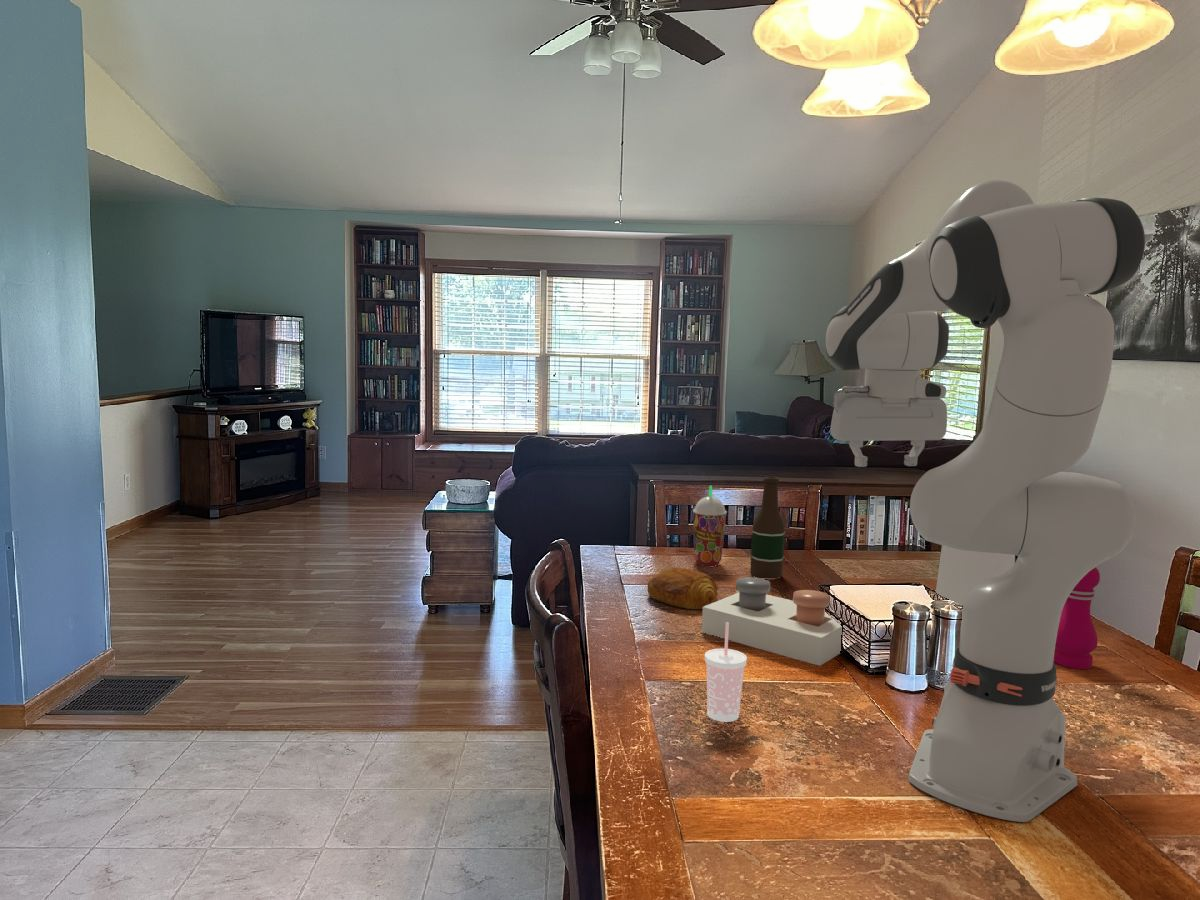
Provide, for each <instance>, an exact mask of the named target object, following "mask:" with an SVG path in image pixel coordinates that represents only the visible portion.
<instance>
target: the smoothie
mask: <svg viewBox="0 0 1200 900" xmlns="http://www.w3.org/2000/svg"><path fill="white" fill-rule="evenodd" d="M708 488H709V491H708V493H709V494H708V495H707V496H704V497H702V498H700V499H699V500H698V501H697V502H696V505H695V507H694V508H693V509H692V512H693V513H692V516H693V517H692V518H693V520H692V521H693V522H692V523H693V557H694V560H695V564H696V563H697V564H699V565H698V566H700V565H704V566H715V565H718V564H719V565H720V563H721V561H722V556H723V547H724V539H725V538H724V537H725V529H726V521H727V520H726V519H727V513H728V511H727V510H726V508H725V505H724V503H723V502H722V501H721V500H720V499H719V498H717V497H716V496H713V485H709V487H708ZM697 564H696V565H697ZM719 565H718V566H719ZM704 566H703V567H704ZM715 567H716V566H715Z"/></svg>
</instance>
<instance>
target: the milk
mask: <svg viewBox="0 0 1200 900" xmlns="http://www.w3.org/2000/svg"><path fill="white" fill-rule="evenodd" d="M940 549H941V550H940V555H939V556H940V559H939V563H938V564H939V566H938V572H937V580H936V587H935V594H936V593H937V594H939V595H941V596H943V597H945V598H947V599H949V600H951V601H954V602H956V603H959V604H962V605H963V601H964V598H965V596H966V594H967V593H968V592H969V591H970V589H972V588H973V587H974V586H975V585H977V584H978V583H980V582H982V581H985V580H987V579H990V578H993V577H997V576H999V575H1002V574H1004V573H1005V572H1007V571H1008V570H1009V569H1010V568H1011V567H1012V566H1013V565H1014V564H1015V562H1016V555H1010V554H999V553H987V552H976V551H964V550H958V549H955V548H951V547H947V546H943V545H941V548H940Z"/></svg>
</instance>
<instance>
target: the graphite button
mask: <svg viewBox="0 0 1200 900" xmlns="http://www.w3.org/2000/svg"><path fill="white" fill-rule="evenodd" d="M735 590H737V591H738V593H739V607H742V608H746V609H750V610H754V611H761V610H763V609H765V604H766V595H767V594H768V593H770V592H771V581H770V580H765V579H761V578H755V577H753V576H750V577H749V576H745V577H739V578H737V579H736V582H735Z"/></svg>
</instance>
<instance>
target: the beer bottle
mask: <svg viewBox="0 0 1200 900" xmlns="http://www.w3.org/2000/svg"><path fill="white" fill-rule="evenodd" d="M762 481H763V484H764V485H763V493H762V501H761V507H760V510H759V511H758V513H757V514H756V516H755V517H754V520H753V523H752V531H751V550H750V551H751V552H750V576H751V575H753V576H755V577H757V578H778V577H780V576H781V575H782V576H783V570H784V553H785V537H786V535H785V534H786V525H785V520H784V518H783V515H782V514H781V513H780V510H779V483H780V478H779V477H778V476H769V475H768V476H765V477H764V478H763V480H762ZM753 576H752V577H753ZM782 576H781V577H782ZM781 577H780V578H781Z"/></svg>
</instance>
